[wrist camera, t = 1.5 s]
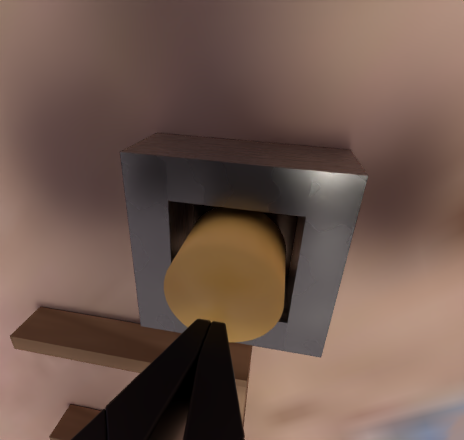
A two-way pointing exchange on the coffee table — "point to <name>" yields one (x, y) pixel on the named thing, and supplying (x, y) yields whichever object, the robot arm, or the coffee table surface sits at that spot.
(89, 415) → the brown wooden u-shaped frame
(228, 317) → the button
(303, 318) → the button housing
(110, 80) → the coffee table surface
